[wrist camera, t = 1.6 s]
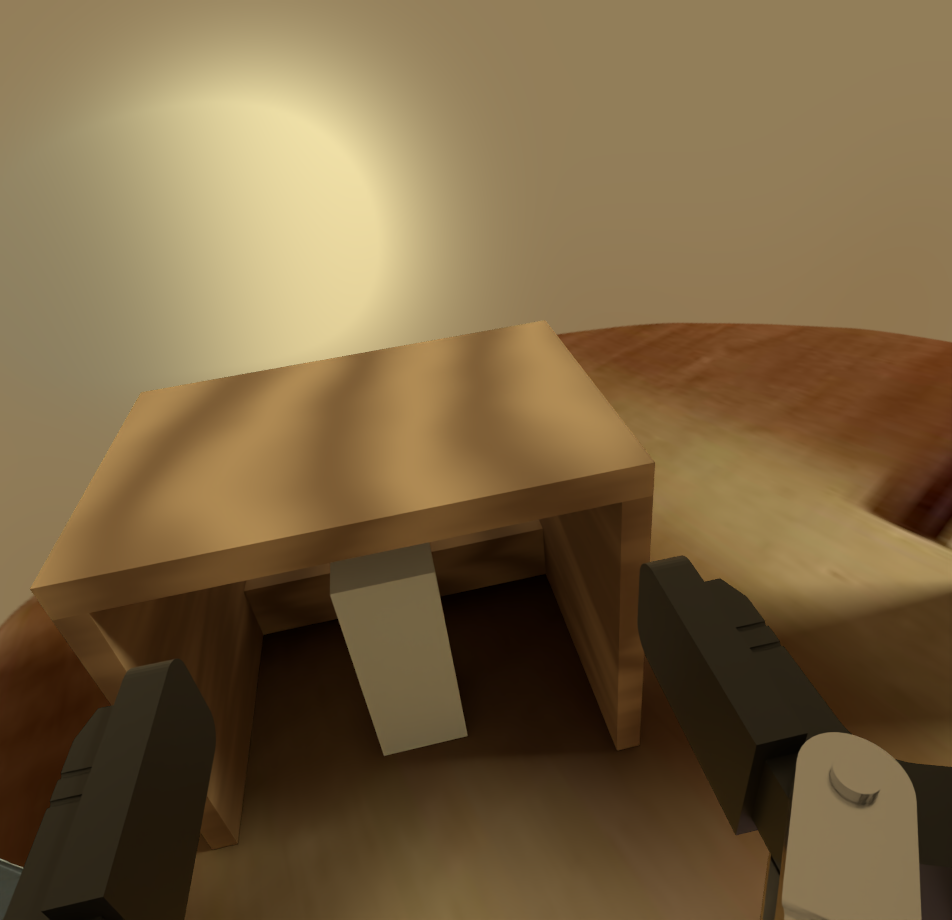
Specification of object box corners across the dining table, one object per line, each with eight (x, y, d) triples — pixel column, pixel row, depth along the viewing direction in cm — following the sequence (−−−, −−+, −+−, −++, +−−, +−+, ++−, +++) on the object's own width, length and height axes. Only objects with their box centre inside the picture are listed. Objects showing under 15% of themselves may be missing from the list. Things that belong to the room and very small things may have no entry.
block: (454, 668, 38) (422, 509, 31) (467, 736, 34) (434, 572, 27) (379, 685, 37) (330, 528, 31) (383, 755, 34) (329, 594, 27)
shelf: (557, 558, 44) (545, 320, 35) (639, 745, 32) (655, 462, 23) (246, 625, 42) (141, 392, 33) (212, 849, 31) (30, 588, 21)
